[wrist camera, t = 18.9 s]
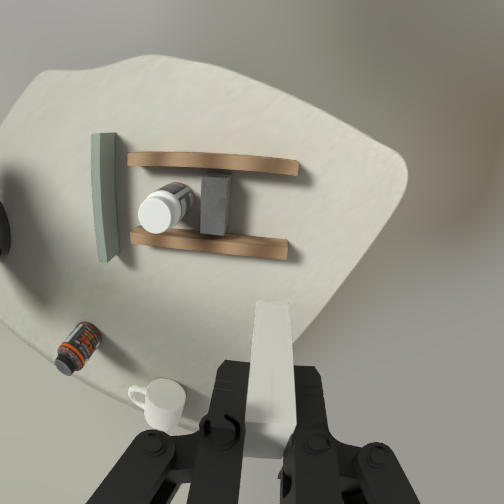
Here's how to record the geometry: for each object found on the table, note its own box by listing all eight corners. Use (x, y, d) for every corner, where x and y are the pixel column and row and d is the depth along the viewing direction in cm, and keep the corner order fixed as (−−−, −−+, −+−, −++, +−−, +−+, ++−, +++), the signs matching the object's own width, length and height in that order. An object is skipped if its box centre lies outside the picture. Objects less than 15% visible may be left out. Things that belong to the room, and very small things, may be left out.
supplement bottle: (107, 338, 48) (81, 377, 37) (93, 346, 49) (68, 383, 39) (86, 316, 46) (56, 352, 36) (74, 326, 48) (46, 360, 37)
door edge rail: (112, 250, 40) (99, 261, 36) (107, 133, 33) (91, 134, 29) (119, 251, 40) (107, 262, 36) (115, 132, 33) (100, 133, 29)
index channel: (139, 235, 38) (130, 243, 36) (137, 151, 34) (127, 153, 31) (285, 250, 38) (286, 259, 35) (296, 160, 33) (299, 162, 30)
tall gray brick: (206, 224, 37) (200, 233, 34) (208, 172, 34) (201, 176, 31) (228, 226, 37) (224, 235, 34) (231, 174, 34) (227, 178, 31)
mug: (190, 385, 51) (180, 416, 44) (183, 408, 55) (175, 436, 47) (135, 365, 50) (120, 393, 43) (134, 391, 54) (122, 416, 47)
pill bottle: (154, 197, 36) (126, 214, 28) (177, 174, 35) (152, 185, 27) (177, 222, 37) (154, 245, 30) (201, 200, 36) (182, 218, 28)
